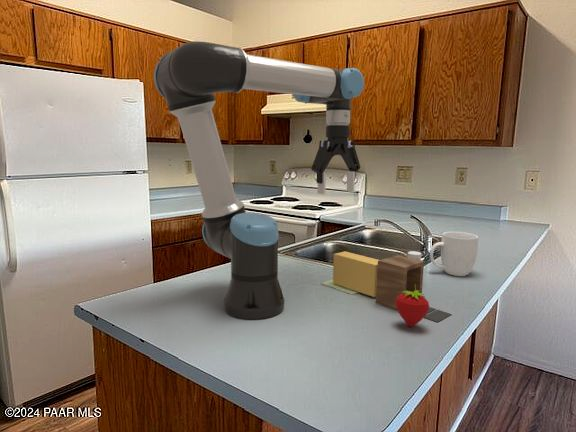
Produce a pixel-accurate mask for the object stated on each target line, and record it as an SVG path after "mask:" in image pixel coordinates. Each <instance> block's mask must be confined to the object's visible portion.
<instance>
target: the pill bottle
mask: <svg viewBox="0 0 576 432" xmlns="http://www.w3.org/2000/svg"><path fill="white" fill-rule="evenodd" d="M406 257H407V258H412V259H416V260H420V261H423V259H422V252H419V251H415V250H410V251H407V255H406Z"/></svg>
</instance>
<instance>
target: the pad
mask: <svg viewBox="0 0 576 432" xmlns="http://www.w3.org/2000/svg"><path fill="white" fill-rule="evenodd" d="M320 284H321V285H324V286H327V287H329V288H333V289H335V290H338V291H341V292H344V293H347V294H349V295H356V294H358V293H359V292H357V291H354V290H351V289H349V288H346V287H343V286H340V285H337V284H334V283H333V278H332V279H329V280H326V281H324V282H323V281H322V282H321V283H320Z"/></svg>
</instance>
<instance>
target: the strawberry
mask: <svg viewBox="0 0 576 432" xmlns="http://www.w3.org/2000/svg"><path fill="white" fill-rule="evenodd" d="M418 291H419V290H417V291H416V284H415V291H414V293H413V292H411V291H406V290H405V291H401V292H403V293H406V294H400V295H399V296H398V297H397V298H396V301H395V304H396V308H397V310H396V311H397V312H398V314H399V315H400V317H401V318H402V320H403V321H404V322H405V324H406V325H407V326H408V327H410V328H413V327H415V326H416V325H417V324H419V322H421V321H423V319H425V318H424V317H425V316H426V315H427V312H428V310H429V307H430V304H429V301H428V300H427V298H425V294H423V293H419V292H418Z"/></svg>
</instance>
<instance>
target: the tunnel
mask: <svg viewBox="0 0 576 432" xmlns="http://www.w3.org/2000/svg"><path fill="white" fill-rule="evenodd" d="M378 260H379V261H378V267H377V287H376V297H375V304H378V305H381V306H384V307H386V308H389V309H393V310H395V311H397V308H396V304H395V301H396V298H397V297H398V296H399V295H400V294H406V293H403V292H401V291H405V290H406V291H411V292H413V293H414V291H415V284H416V291H417V290H419V291H418V292H419V293H422V292H423V282H424V281H423V280H424V267H425V266H424V265H425V261H424V260H422V261H420V260H416V259H412V258H408V256H402V255H398V254H397V255H393V256H388V257H386V258H383V259H378ZM422 294H423V293H422Z"/></svg>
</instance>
